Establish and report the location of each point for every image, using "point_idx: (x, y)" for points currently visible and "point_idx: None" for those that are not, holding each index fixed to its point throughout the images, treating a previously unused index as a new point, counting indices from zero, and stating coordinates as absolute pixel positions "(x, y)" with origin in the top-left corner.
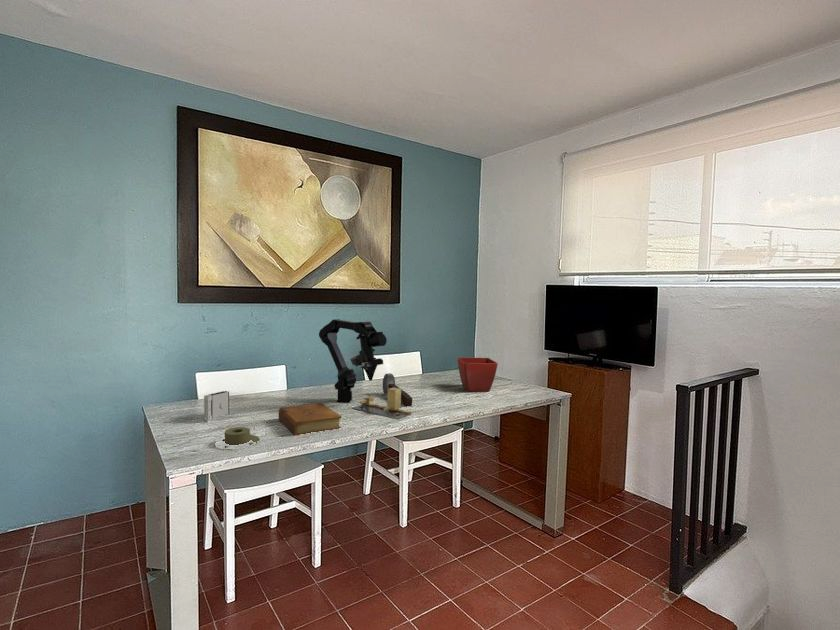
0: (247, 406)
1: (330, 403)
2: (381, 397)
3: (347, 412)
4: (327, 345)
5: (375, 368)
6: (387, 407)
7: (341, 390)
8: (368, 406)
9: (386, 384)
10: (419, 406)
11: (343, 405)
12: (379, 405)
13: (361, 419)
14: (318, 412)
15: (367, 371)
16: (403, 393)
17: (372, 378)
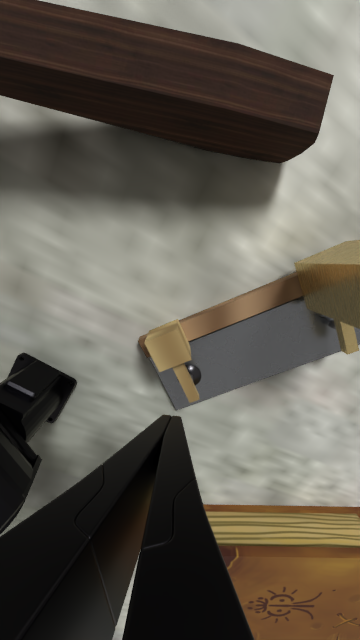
0: None
1: (64, 442)
2: (23, 187)
3: (214, 437)
4: None
5: (237, 612)
6: (348, 330)
7: (38, 459)
8: (191, 347)
9: None
10: (323, 67)
11: (112, 415)
12: (225, 309)
13: (321, 432)
14: (306, 590)
15: (126, 579)
16: (233, 89)
17: (183, 427)
